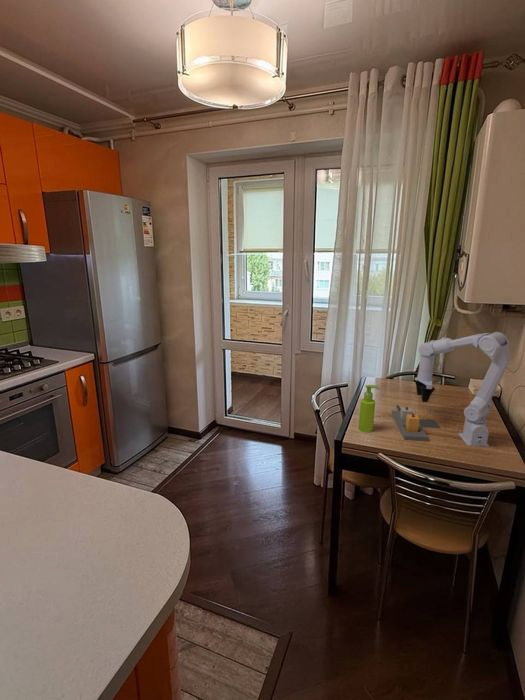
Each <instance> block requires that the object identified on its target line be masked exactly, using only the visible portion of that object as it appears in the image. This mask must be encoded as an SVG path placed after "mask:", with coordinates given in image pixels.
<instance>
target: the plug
mask: <svg viewBox="0 0 525 700" xmlns="http://www.w3.org/2000/svg"><path fill="white" fill-rule="evenodd" d="M419 419H420V418H419V416H418V415H417V414H414V413H413V414H412V415H411V414H407V417H406V426H405V429H406V431H411V432H418V427H419Z"/></svg>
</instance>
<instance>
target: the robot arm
mask: <svg viewBox="0 0 525 700" xmlns="http://www.w3.org/2000/svg"><path fill="white" fill-rule="evenodd" d="M509 345H510V341H509V340H508V338H507V337H506V335H505V334H504V333H503V332H499V331H494V332H486V333H485V332H484V333H477V334H473V335H469V336H465V337H460V338H455V339H452V338H450V337H446V336H444V337H441V338H440V339H437V340H434V339H432V340H430V341H426V342H424V343H421V344H420V345H419V346H418V353H419V354H420V356H419V365H418V372H417V376H416V377H414V378H413V380H414V383H415V387H416V394H417V395H418V396H421V401H422V403H428V402H429V400H430V397H431V395H432V393H434V391H435V387H434V386H433V373H434V367H435V366H434V365H435V358H436V355H441V354H444V353H450V352H453V350H454V349H455V348H460V347H461V348H462V347H467V346H474V347H475V348H477V349H478V348H479V349H480V350H481V352H483V353H484V354H485V355H486V356H488V357H489V359H490V360H491V363H490V365H489V367H488V370H487V371H486V374H485V376H484V378H483V381H482V382H481V385H480V386H479V388H478V391H477V392H476V395H475V396H474V398H473V399H472V400H471V401H470V403H469V405H468V406H467V407H465V408H464V410H463V415H464V417H465V419H464V425H463V432H458V435H459V437H460V438H461V439H462V440H463V441H464V443H465V444H466V445H467V446H471V447H490V445H489V443H488V440H489V433H490V431H489V429H488V428H487V416H489V414H490V412H491V404H492V398H493V396H494V394H495V392H496V390H497V388H498V386H499V384H500V382H501V380H502V379H503V376H504V374H505V372H506V370H507V368H508V366H509V364H510V362H511V356H510V349H509V347H510V346H509Z"/></svg>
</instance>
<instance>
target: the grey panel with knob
mask: <svg viewBox="0 0 525 700" xmlns="http://www.w3.org/2000/svg"><path fill="white" fill-rule="evenodd" d="M396 409H397V410H391V416H392V418H393V420H394V422H395V424H396V426H397V428H398V431H399V432H400V434H401V437H402V438H403V440H404V441H412V442H413V441H417V442H428V441H429V437H428V434H427V433H426V432H425V430H424V427H421V425H420V423H419V427H418V432H411V431H406V429H405V426H406V417H407V414H411V415H412V414H414V412H413V410H412V408H411V407H408V406H406V407H403V406H402V407H401V406H400V405H398V404H397V405H396Z"/></svg>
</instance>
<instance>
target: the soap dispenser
mask: <svg viewBox="0 0 525 700" xmlns="http://www.w3.org/2000/svg"><path fill="white" fill-rule="evenodd" d="M365 388H366V391H365V392H364V394H363V398H361V399H360V405H359V419H358V430H359V431H360V432H363V433H366V434H367V433H372V432H373V431H374V421H375V412H376V411H375V408H376V401H375V400H374V399H373V392H372V389H377V390H378V389H380V386H379V385H375V384H365Z"/></svg>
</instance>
